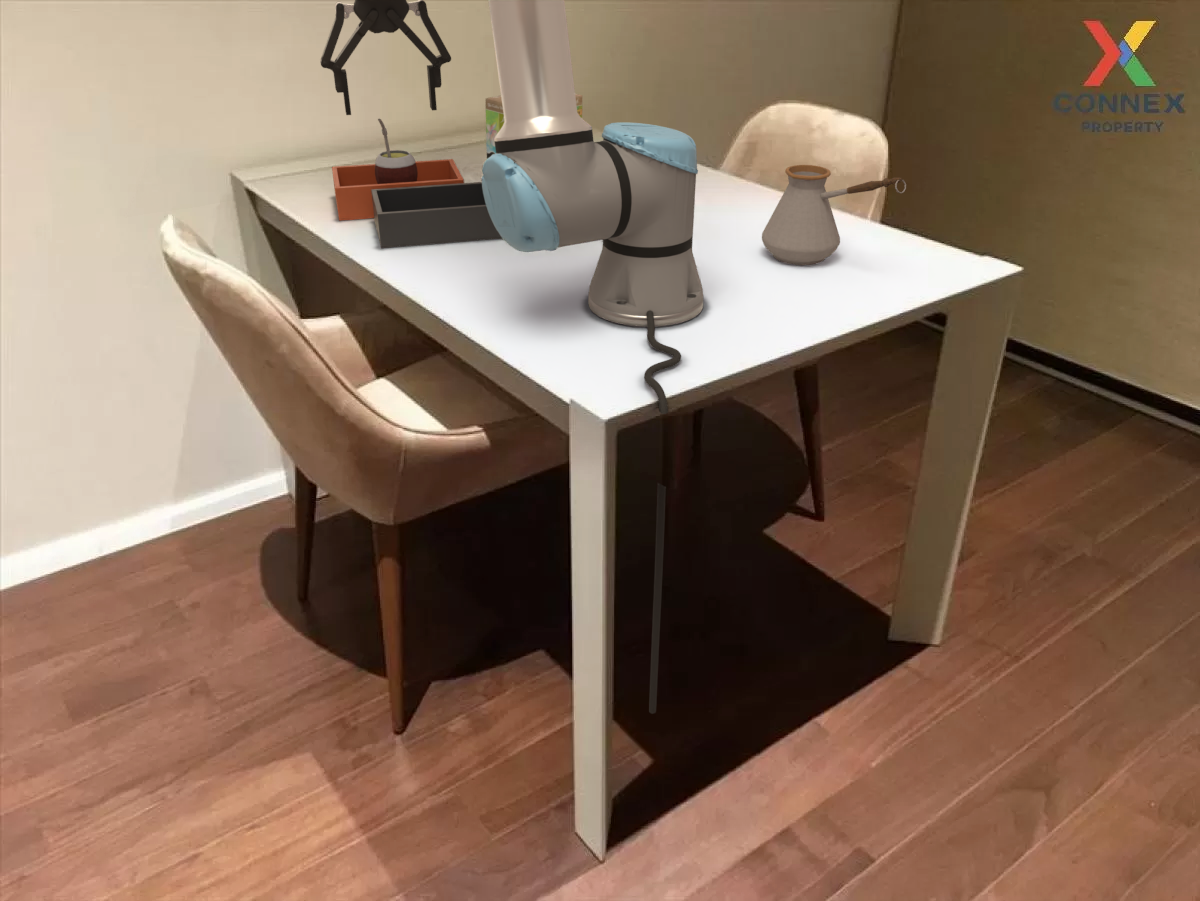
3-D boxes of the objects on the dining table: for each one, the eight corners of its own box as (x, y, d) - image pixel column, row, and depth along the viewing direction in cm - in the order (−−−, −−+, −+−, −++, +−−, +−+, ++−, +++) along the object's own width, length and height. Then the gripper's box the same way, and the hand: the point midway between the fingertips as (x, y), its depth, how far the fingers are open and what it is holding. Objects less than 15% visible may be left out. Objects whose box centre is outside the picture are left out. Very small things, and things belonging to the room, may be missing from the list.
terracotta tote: (465, 211, 173) (463, 179, 170) (339, 220, 169) (335, 188, 166) (454, 189, 184) (452, 158, 181) (335, 197, 179) (331, 166, 177)
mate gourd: (409, 193, 181) (401, 104, 173) (429, 204, 175) (421, 113, 167) (369, 200, 177) (359, 109, 170) (387, 212, 172) (378, 118, 164)
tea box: (524, 193, 182) (522, 106, 175) (486, 181, 188) (482, 97, 180) (583, 175, 192) (583, 92, 184) (545, 165, 198) (543, 84, 190)
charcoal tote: (515, 237, 162) (514, 204, 159) (381, 248, 157) (377, 214, 155) (500, 212, 173) (499, 180, 170) (374, 221, 168) (371, 189, 165)
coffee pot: (744, 255, 155) (752, 154, 148) (792, 238, 162) (802, 141, 155) (864, 295, 142) (879, 187, 134) (910, 275, 149) (928, 170, 141)
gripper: (455, -38, 164) (464, 102, 174) (292, -34, 158) (311, 110, 169) (462, -34, 157) (471, 111, 168) (292, -29, 152) (312, 120, 162)
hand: (391, 111), depth 168 cm, fingers open, 13 cm apart
